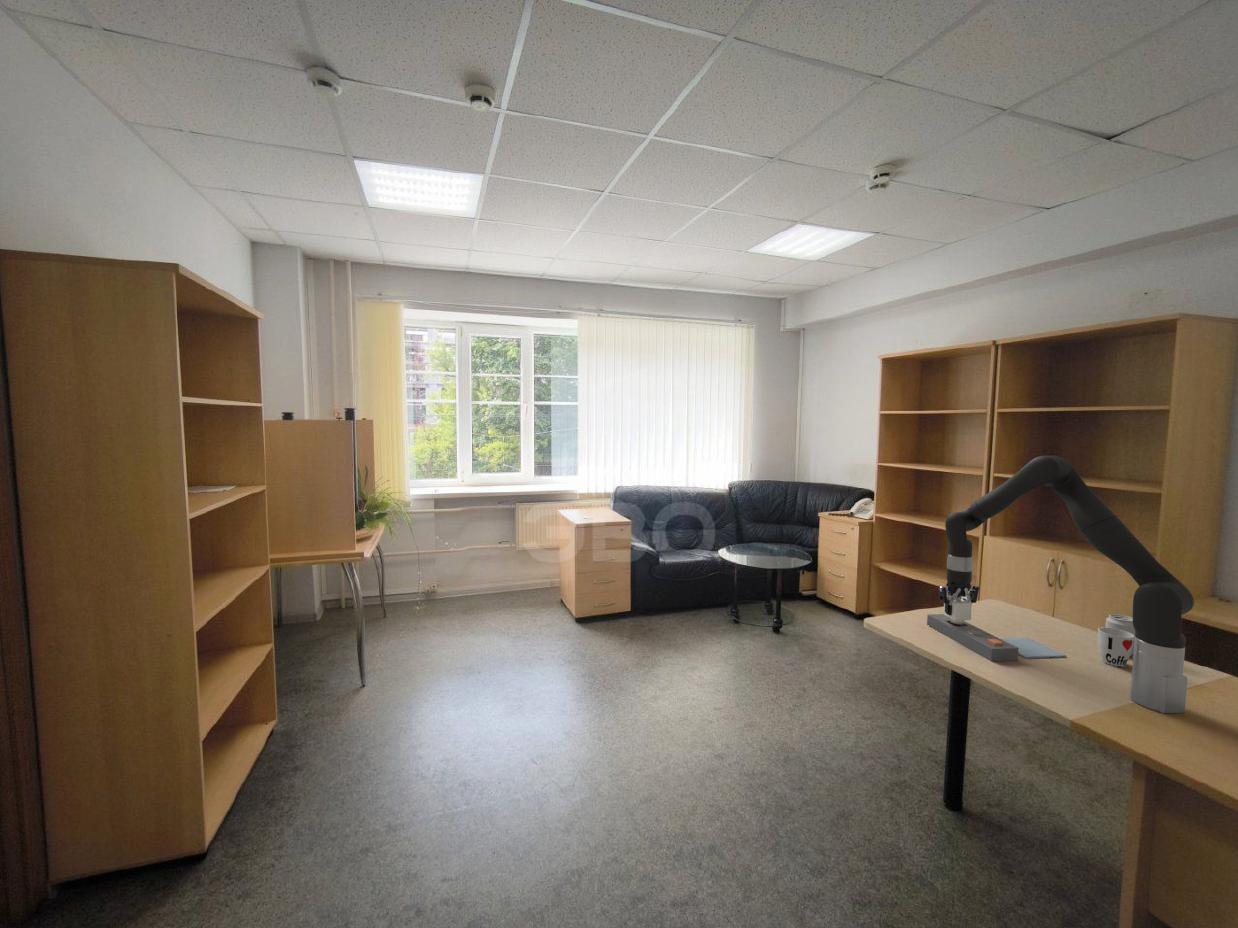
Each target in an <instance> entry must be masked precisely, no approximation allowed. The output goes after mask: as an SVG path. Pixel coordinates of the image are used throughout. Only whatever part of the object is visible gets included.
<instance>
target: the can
mask: <svg viewBox="0 0 1238 928" xmlns="http://www.w3.org/2000/svg"><path fill="white" fill-rule="evenodd" d="M1104 627H1107V628H1114V629H1119V630H1123V631H1126V632H1129V633H1131V634H1133V635H1134V640H1133V646H1132V651H1131V654H1130V657H1132V656H1133V654H1134V642H1135V629H1134V627H1133V617H1131V616H1128V615H1123V614H1115V613H1113V614H1112V613H1111V614H1109V615H1108V617H1106V618H1105V626H1104Z"/></svg>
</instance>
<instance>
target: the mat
mask: <svg viewBox="0 0 1238 928" xmlns="http://www.w3.org/2000/svg"><path fill="white" fill-rule="evenodd" d="M999 639H1001V640H1003V641H1005V642H1007V643H1009V644H1011V645H1013V646H1015V647H1017V648H1018V657H1022V658H1024V659H1049V657H1056V658H1066V657H1067V655H1066V654H1064V653H1061V652H1060V651H1058V650H1055V649H1053V648H1051V647H1049V646H1047V645H1045V644H1043V643H1041V642H1039V641H1036V640H1034V639H1032V638H1030V637H1011V638H1010V637H1008V638H1007V637H1004V638H999Z"/></svg>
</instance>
